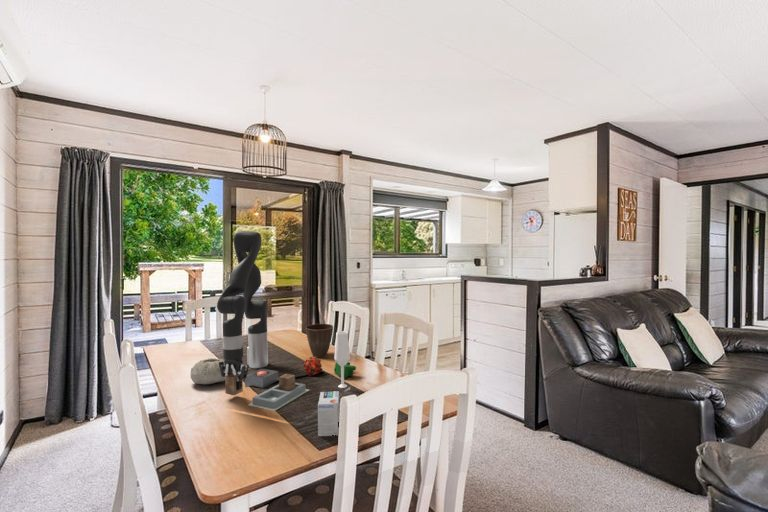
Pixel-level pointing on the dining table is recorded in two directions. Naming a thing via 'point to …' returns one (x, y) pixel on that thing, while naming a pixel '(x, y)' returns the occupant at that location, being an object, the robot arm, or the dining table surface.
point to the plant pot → (319, 338)
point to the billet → (287, 382)
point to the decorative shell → (207, 372)
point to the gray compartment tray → (277, 397)
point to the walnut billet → (231, 385)
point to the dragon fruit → (312, 366)
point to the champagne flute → (342, 354)
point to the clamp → (347, 370)
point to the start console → (261, 378)
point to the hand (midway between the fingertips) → (234, 388)
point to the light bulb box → (328, 413)
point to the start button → (261, 373)
